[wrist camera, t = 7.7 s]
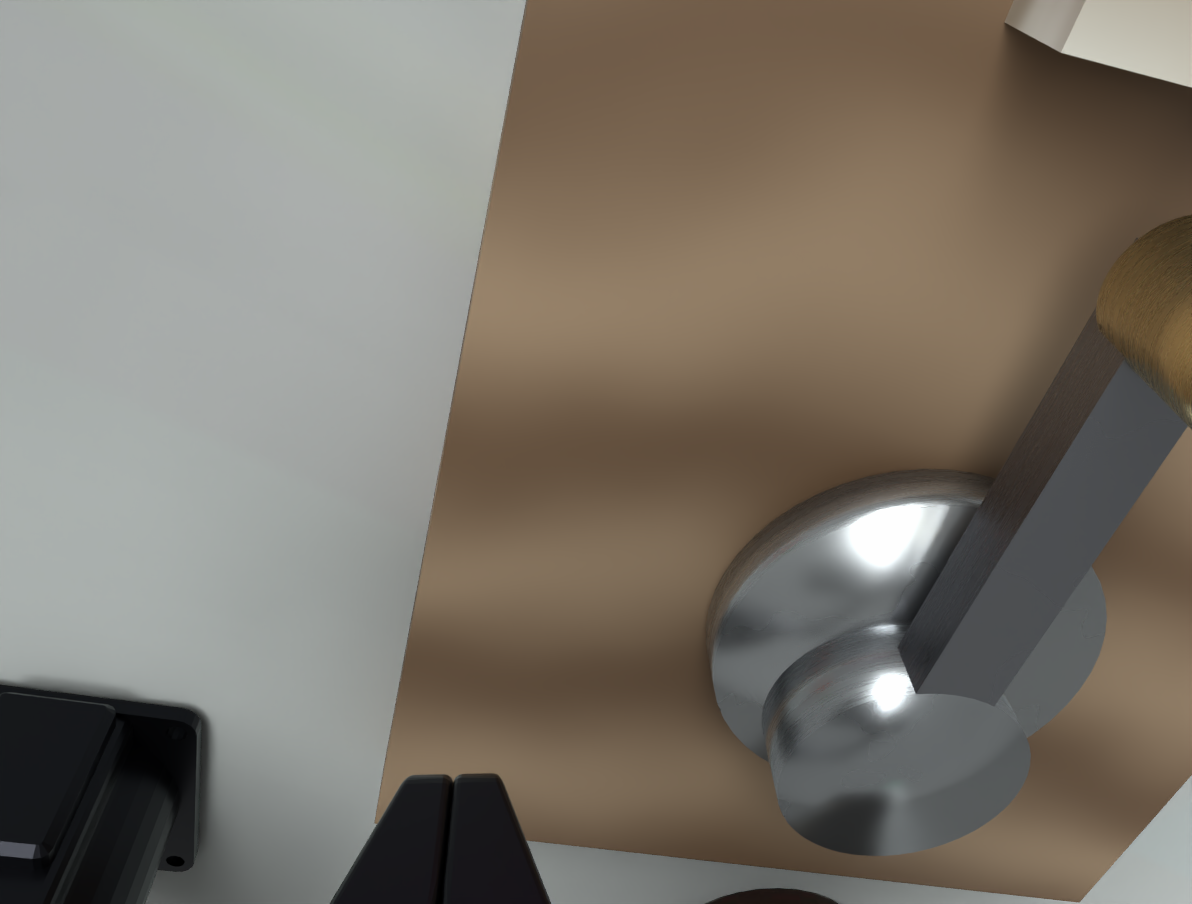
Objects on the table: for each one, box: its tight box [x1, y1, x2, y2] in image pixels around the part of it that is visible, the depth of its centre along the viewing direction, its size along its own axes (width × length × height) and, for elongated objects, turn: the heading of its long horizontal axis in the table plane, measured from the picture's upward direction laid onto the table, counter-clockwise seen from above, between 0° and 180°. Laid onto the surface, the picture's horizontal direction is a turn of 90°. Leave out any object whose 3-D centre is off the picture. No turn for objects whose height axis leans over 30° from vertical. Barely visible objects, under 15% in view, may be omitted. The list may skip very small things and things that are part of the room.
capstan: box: [706, 214, 1192, 856], centre depth 17 cm, size 14×8×7 cm, turn 166°
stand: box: [375, 0, 1192, 902], centre depth 20 cm, size 24×20×4 cm
